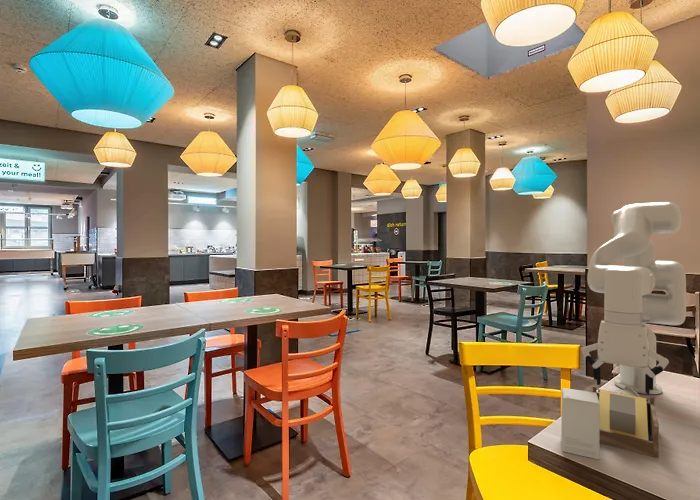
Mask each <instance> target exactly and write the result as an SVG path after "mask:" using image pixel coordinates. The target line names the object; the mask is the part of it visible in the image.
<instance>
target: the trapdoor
mask: <svg viewBox="0 0 700 500" xmlns="http://www.w3.org/2000/svg"><path fill="white" fill-rule="evenodd" d="M597 392H598V393H600V394H599V403H600V409H599V429H602V430H606V431H611V432H615V433H619V434H623V435H627V436H631V437H636V438H640V439H644V440H648V441H649V428H648V422H647V402H649V398H647V397H641V396H640V397H637V396H632V395H626V394H621V393H620V392H614V391H610V390H606V389H597ZM610 394H615V395H620V396H626V397H631V398H635V411H636V420H635V435H634V434H629V433H625V432H621V431H617V430H613V429H610V414H609V407H610Z"/></svg>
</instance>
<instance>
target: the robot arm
mask: <svg viewBox="0 0 700 500" xmlns="http://www.w3.org/2000/svg"><path fill="white" fill-rule="evenodd" d="M610 218H611V224H612V227H613V231H614V232H613V238H612V239H610V240H609V241H607V242H605V243H604V244H602V245H601V246H600V247H598V248H597V249H596V250H595V251H594V253H593V254H592V255H591V257H590V261H589V266H588V271H587V285H588V287H589V289H590V290H591V291H593V292H595V293H600V294H604V295H603V296H604V297H603V298H604V299H603V301H604V302H603V303H604V304H603V306H604V309H603V310H604V315H603V318H604V319H603V320H600V324H599V329H598V336H597V342H596V343H593V344H589V345H586V346H583V347H581V348H580V351H581V352H582V355H583V356H584V358H585V361H587V362H588V363H589V364H590V365H591V366H592V368H593V381H596V386H599V385H601V383H602V382H601V381H602V367H601V366H602V365H603V364H604V363H605V364H612V365H618V366H619V377H617V378H615V379H614V385H615V386H616V387H619V388H621V389H622V390H624V388H625V387H626V386H627V387H630V388H632V389H633V390H634V391H636V392H637V393H639V394H641V395H642V394H643V395H660V394H662V392H663V388H662V386H661V385H659V384H658V383H657V375H659V374H661V373H662V372H663V371H664V370H665V369H666V367H667V366H668V365H669V363H670V361H669V359H668V358H666V357H664V356H663V355H661V354H659V353H657V336H656V334H655V332H654V330H652V328H650V327H649V325H648V324H657V325H658V324H659V325H665V326H666V325H668V326H680V325H682V324H684V322H685V320H686V317H687V277H686V275H687V274H686V271H685V267H684V266H683V264H681V263H680V262H678V261H676V260H675V261H674V260H658V259H657V260H656V255H655V254H656V252H655V251H656V246H655V244H654V242H653V241H652V240H651V237H652V236H651V235H653V234H655V235H657V234H659V235H660V234H666V235H667V234H676V233H677V232H679V230H680V228H681V226H682V220H683V219H682V213H681V209H680V207H679V205H678V204H676V203H674V202H672V201H671V202H670V201H663V202H662V201H660V202H659V201H658V202H642V203H632V204H626V205H624V206H623V207H622V208H620V209H617V210H615V211H613V213H612V214H611V217H610ZM619 261H622V265H618V264H617V265H616V264H615V265H613V264H612V263H616V262H619ZM611 264H612V265H611ZM653 290H654V291H664V292H666V293H667V294H661V293H659V294H658V293H652V292H651V291H653ZM596 350H597V358H596V359H595V358H594V357H593V356H591V354H590V352H592V351H596ZM657 362H658V364H657Z"/></svg>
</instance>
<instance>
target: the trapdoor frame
mask: <svg viewBox="0 0 700 500" xmlns="http://www.w3.org/2000/svg"><path fill="white" fill-rule="evenodd" d="M592 392H594V393H597V396H598V400H599V394H600V392H598V390H597V385H592ZM657 415H658V414H657V410H656V405H655V396H651V395H650V396H649V401H648V402H647V422H648V429H649V432H650V433H649V434H650V438H651V440H649V439H648V440H644V439H640V438H636V437H631V436H627V435H623V434H619V433H615V432H611V431H606V430H602V429H599V444H604V445H608V446H612V447H616V448H620V449H623V450H627V451H630V452H634V453H639V454H641V455H646V456H650V457H653V458H657V459H658V458H659V452H660V451H659V443H660V442H659V440H660V438H659V437H660V436H659V435H660V434H659V433H660V431H659V427H660V426H659V421H658V416H657Z"/></svg>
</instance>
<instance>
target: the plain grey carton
mask: <svg viewBox="0 0 700 500" xmlns="http://www.w3.org/2000/svg"><path fill="white" fill-rule="evenodd" d="M609 414H610V429H613V430H617V431H621V432H625V433H629V434H634V435H635V420H636V411H635V398H631V397H626V396H620V395H615V394H610V407H609Z"/></svg>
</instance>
